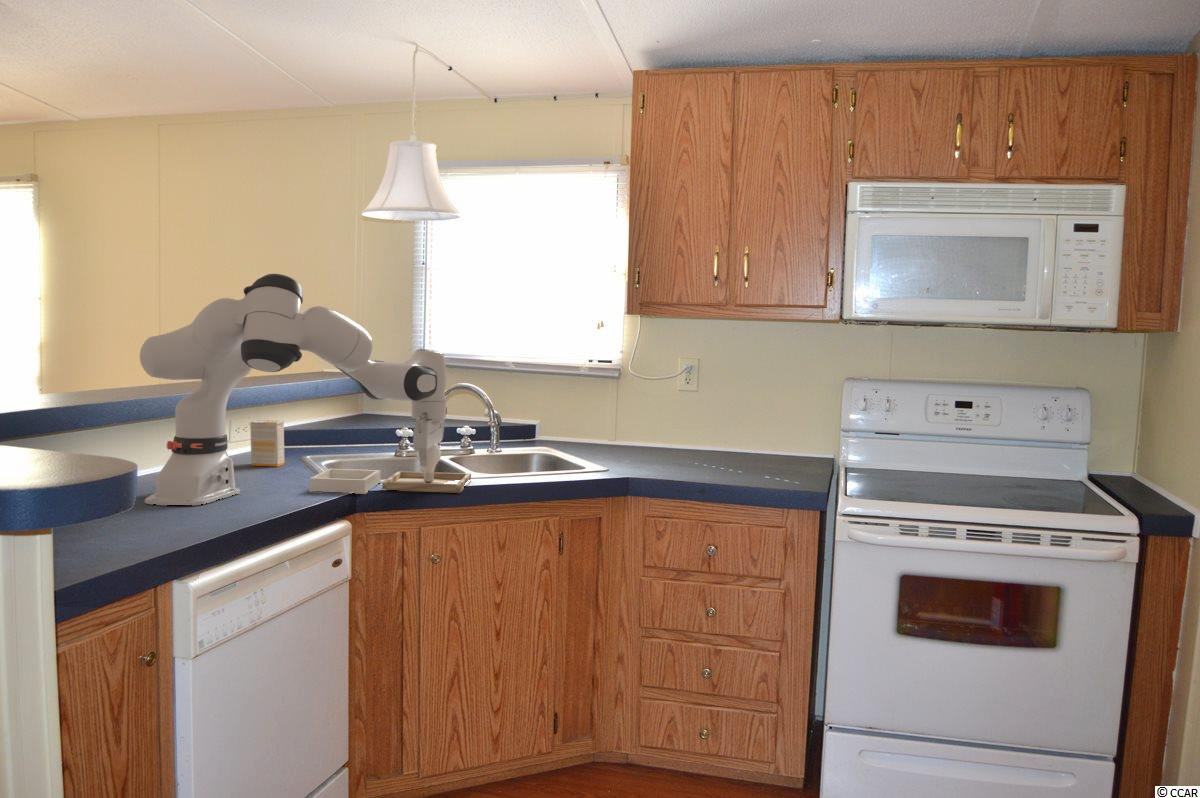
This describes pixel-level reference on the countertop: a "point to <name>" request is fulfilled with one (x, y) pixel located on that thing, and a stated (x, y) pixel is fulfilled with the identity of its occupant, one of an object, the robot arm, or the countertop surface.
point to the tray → (417, 483)
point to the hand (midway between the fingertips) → (428, 462)
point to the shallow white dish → (345, 480)
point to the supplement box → (267, 443)
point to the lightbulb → (431, 463)
